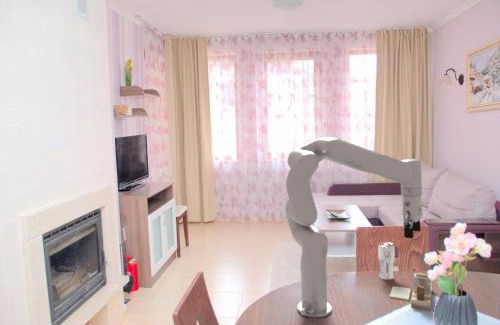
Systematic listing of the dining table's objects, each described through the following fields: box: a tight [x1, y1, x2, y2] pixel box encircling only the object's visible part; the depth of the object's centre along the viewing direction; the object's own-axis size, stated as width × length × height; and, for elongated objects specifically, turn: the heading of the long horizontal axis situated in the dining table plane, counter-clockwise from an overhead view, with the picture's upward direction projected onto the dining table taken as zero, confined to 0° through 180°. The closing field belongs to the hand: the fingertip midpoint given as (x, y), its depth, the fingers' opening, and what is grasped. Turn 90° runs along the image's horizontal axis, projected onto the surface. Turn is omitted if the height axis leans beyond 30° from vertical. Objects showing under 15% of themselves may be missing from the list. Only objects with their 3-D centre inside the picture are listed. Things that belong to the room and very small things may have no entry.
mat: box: [389, 286, 412, 301], centre depth 156 cm, size 10×7×1 cm
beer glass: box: [377, 241, 396, 281], centre depth 172 cm, size 7×7×15 cm
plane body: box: [410, 272, 433, 311], centre depth 151 cm, size 18×6×8 cm, turn 153°
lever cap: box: [412, 272, 432, 294], centre depth 151 cm, size 4×6×7 cm
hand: (412, 234), depth 151 cm, fingers open, 9 cm apart
